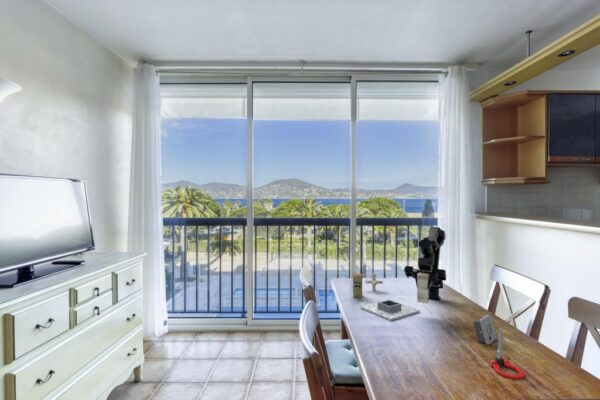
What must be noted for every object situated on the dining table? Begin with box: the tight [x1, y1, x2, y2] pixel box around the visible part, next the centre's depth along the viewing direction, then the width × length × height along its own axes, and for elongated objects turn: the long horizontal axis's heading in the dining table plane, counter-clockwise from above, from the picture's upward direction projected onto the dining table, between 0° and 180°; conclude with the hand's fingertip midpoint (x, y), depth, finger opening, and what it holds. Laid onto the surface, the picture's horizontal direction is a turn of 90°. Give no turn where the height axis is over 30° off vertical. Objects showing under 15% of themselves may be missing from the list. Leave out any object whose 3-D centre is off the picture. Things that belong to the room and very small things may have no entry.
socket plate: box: [359, 299, 421, 322], centre depth 166 cm, size 20×20×4 cm
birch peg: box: [416, 273, 430, 304], centre depth 160 cm, size 4×4×13 cm
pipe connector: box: [364, 272, 384, 292], centre depth 200 cm, size 10×10×10 cm
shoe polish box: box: [352, 273, 363, 299], centre depth 189 cm, size 5×5×12 cm
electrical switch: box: [472, 314, 498, 346], centre depth 133 cm, size 9×5×9 cm, turn 132°
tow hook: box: [488, 327, 525, 380], centre depth 109 cm, size 8×13×9 cm
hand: (422, 288), depth 159 cm, fingers closed on birch peg, 4 cm apart
